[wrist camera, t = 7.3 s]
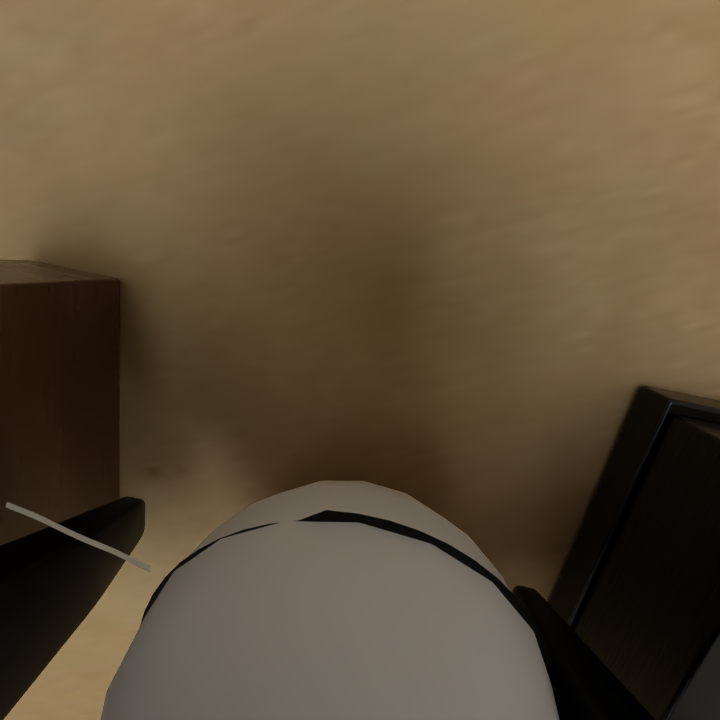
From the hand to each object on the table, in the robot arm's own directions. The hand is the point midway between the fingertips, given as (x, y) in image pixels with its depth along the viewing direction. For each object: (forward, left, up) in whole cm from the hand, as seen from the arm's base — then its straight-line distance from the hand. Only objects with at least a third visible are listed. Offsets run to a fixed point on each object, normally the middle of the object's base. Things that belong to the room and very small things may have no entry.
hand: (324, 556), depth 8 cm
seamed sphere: (0, 0, -2) cm, 2 cm away
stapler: (-8, -1, -2) cm, 8 cm away
